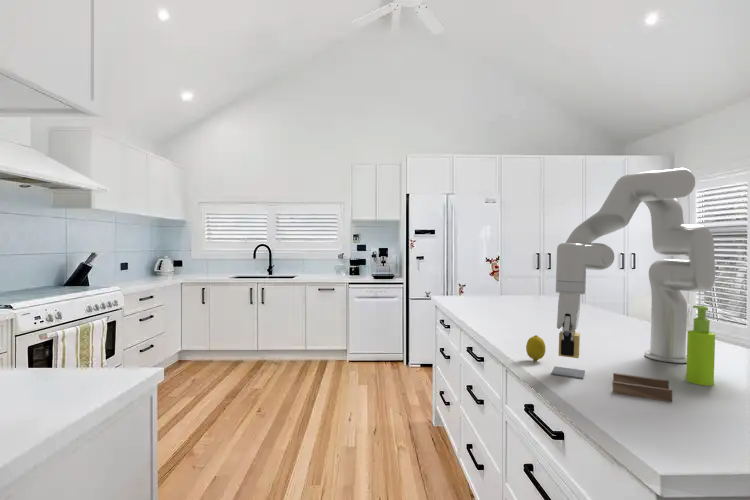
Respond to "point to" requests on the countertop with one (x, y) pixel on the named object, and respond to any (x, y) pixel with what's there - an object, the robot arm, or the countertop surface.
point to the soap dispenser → (700, 351)
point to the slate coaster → (568, 372)
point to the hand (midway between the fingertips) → (568, 352)
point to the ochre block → (576, 344)
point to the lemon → (535, 348)
